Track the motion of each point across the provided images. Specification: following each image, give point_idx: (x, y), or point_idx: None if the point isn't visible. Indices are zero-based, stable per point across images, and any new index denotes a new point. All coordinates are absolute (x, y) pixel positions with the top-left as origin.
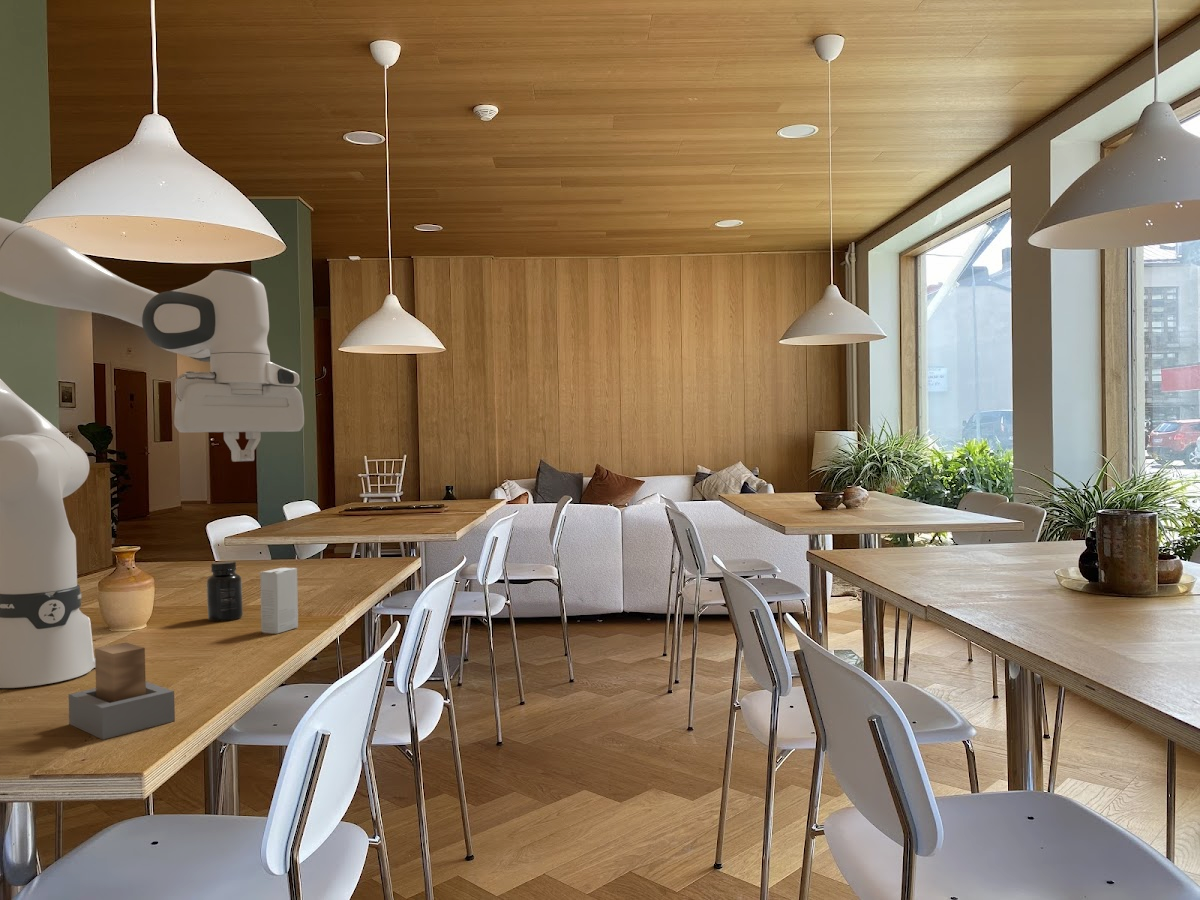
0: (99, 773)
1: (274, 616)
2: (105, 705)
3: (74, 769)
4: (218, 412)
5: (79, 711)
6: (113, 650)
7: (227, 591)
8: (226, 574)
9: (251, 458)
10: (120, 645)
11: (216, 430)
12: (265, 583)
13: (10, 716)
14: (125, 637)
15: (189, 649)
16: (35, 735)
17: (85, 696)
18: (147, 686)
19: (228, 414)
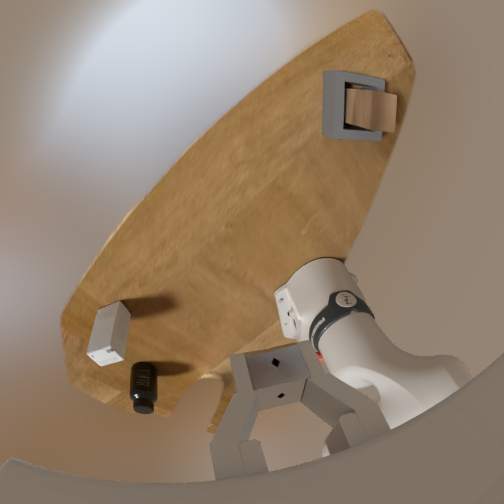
0: (391, 27)
1: (119, 313)
2: (381, 83)
3: (397, 46)
4: (491, 456)
5: None
6: (391, 108)
7: (143, 382)
8: (142, 397)
9: (244, 356)
10: (380, 122)
11: (461, 391)
12: (121, 346)
13: (376, 192)
14: (224, 358)
15: (202, 298)
16: None
17: None
18: (341, 106)
19: (455, 479)
